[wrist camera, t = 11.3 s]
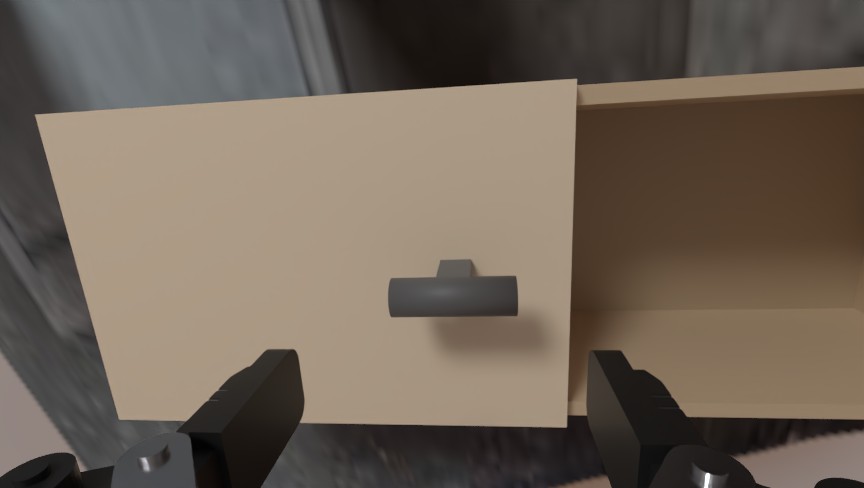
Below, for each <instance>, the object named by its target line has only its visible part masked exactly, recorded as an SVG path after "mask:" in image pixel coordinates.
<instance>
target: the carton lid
mask: <svg viewBox="0 0 864 488" xmlns="http://www.w3.org/2000/svg"><path fill="white" fill-rule="evenodd" d="M576 98H577V79H566V80H551V81H536V82H520V83H505V84H490V85H475V86H460V87H445V88H430V89H414V90H399V91H384V92H369V93H354V94H339V95H324V96H309V97H293V98H278V99H263V100H248V101H233V102H218V103H203V104H187V105H172V106H157V107H142V108H127V109H112V110H97V111H82V112H66V113H51V114H36V115H35V117H36V120H37V124H38V128H39V131H40V135H41V139H42V142H43V146H44V149H45V153H46V157H47V160H48V164H49V168H50V171H51V175H52V178H53V182H54V186H55V189H56V193H57V197H58V200H59V204H60V207H61V211H62V215H63V218H64V222H65V226H66V229H67V233H68V236H69V240H70V244H71V247H72V251H73V254H74V258H75V262H76V265H77V269H78V273H79V276H80V280H81V283H82V287H83V291H84V294H85V298H86V302H87V305H88V309H89V312H90V316H91V320H92V323H93V327H94V331H95V334H96V338H97V341H98V345H99V349H100V352H101V356H102V360H103V363H104V367H105V370H106V374H107V378H108V381H109V385H110V388H111V392H112V396H113V399H114V403H115V407H116V410H117V414H118V417H119V420H166V421H187V420H188V419H189V418H190V417H191V416H192V415H193V414H194V413H195V412H196V411H197V410H198V409H199V408H200V407H201V406H202V405H203V404H204V403H205V402H206V401H209V398H210V397H211V396H212V395H213V394H214V393H215V392H216V391H218V390H219V388H220V387H221V386H222V385H223V384H224V383H225V382H226V381H227V380H228V379H229V378H230V377H231V376H233V375H234V374H236V373H238V372H239V371H241V370H243V369H244V368H246V367H250V366H251V365H252V364H253V363H254V362H255V361H256V360H257V359H258V358H259V357H260V356H261V355H262V354H263V353H264V351H266V350H267V349H294V350H296V352H297V354H298V358H299V364H300V371H301V378H302V384H303V391H304V398H305V405H304V412H303V416H302V419H301V421H300V423H338V424H395V425H453V426H510V427H567V404H568V370H569V336H570V302H571V268H572V234H573V200H574V166H575V132H576Z"/></svg>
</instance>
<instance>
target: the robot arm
mask: <svg viewBox="0 0 864 488" xmlns="http://www.w3.org/2000/svg"><path fill="white" fill-rule="evenodd" d="M304 405H305V398H304V391H303V384H302V378H301V371H300V364H299V358H298V354H297V352H296V350H294V349H267V350H266V351H264V353H263V354H262V355H261V356H260V357H259V358H258V359H257V360H256V361H255V362H254V363H253V364H252V365H251V366H250V367H246V368H244V369H243V370H241V371H239V372H238V373H236V374H234V375H233V376H231V377H230V378H229V379H228V380H227V381H226V382H225V383H224V384H223V385H222V386H221V387H220V388H219V390H218V391H216V392H215V393H214V394H213V395H212V396H211V397H210V398H209V401H206V402H205V403H204V404H203V405H202V406H201V407H200V408H199V409H198V410H197V411H196V412H195V413H194V414H193V415H192V416H191V417H190V418H189V419H188V420H187V421H186V422H185V423H184V424H183V425H182V426H181V427H180V428H179V429H178V430H177V431H176V432H170V433H164V434H159V435H156V436H153V437H150V438H148V439H145V440H143V441H141V442H139V443H138V444H136V445H134V446H133V447H131V448H130V449H128V450H127V451H126V452H125V453H124V454H123V455H122V456H121V457H120V458H119V459H118V460H117V462H116V464H115V465H114V466H109V467H104V468H99V469H94V470H89V471H84V472H80V470H79V467H78V464H77V460H76V458H75V456H74V455H72V454H70V453H54V454H49V455H45V456H41V457H38V458H35V459H33V460H30V461H28V462H26V463H24V464H22V465H19V466H18V467H16V468H14V469H12V470H11V471H9V472H7V473H6V474H4V475H3V476H2V477H0V488H261V486H262V484H263V483H264V481H265V479H266V478H267V476H268V474H269V473H270V471H271V469H272V468H273V466H274V464H275V463H276V461H277V459H278V458H279V456H280V454H281V453H282V451H283V449H284V448H285V446H286V444H287V443H288V441H289V439H290V438H291V436H292V434H293V433H294V431H295V429H296V428H297V426H298V424H299V423H300V421H301V419H302V416H303V412H304ZM586 408H587V418H588V423H589V427H590V430H591V433H592V435H593V438H594V441H595V443H596V446H597V449H598V451H599V454H600V457H601V460H602V462H603V465H604V468H605V470H606V473H607V476H608V478H609V481H610V484H611V487H612V488H769V487H766V486H762V485H759V484H757V483H756V482H755V480H754V478H753V476H752V475H751V473H750V472H749V471H748V470H747V469H746V468H745V467H744V466H743V465H742V464H741V463H740V462H738V461H737V460H735V459H734V458H732V457H731V456H729V455H727V454H725V453H723V452H721V451H718V450H716V449H713V448H710V447H708V445H707V444H706V443H705V441H704V440H703V438H702V437H701V436H700V434H699V433H698V431H697V430H696V429H695V427H694V426H693V424H692V423H691V422H690V420H689V419H688V417H687V416H686V415H685V413H684V412H683V411H682V409H680V406H679V405H678V404H677V402H676V401H675V399H674V398H672V397H671V394H670V392H669V391H668V390H667V388H666V387H665V385H664V384H663V383H662V381H660V380H659V379H657V378H656V377H655V376H653V375H652V374H650V373H649V372H647V371H646V370H633V368H632V367H631V365H630V363H629V362H628V360H627V359H626V357H625V356H624V354H623V352H622V351H621V350H590V352H589V356H588V373H587V397H586ZM814 488H864V483H862V482H859V481H855V480H850V479H844V478H827V479H823V480H821V481H819V482H818V483H817V484H816V485H815V487H814Z"/></svg>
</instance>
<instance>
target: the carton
mask: <svg viewBox="0 0 864 488" xmlns="http://www.w3.org/2000/svg"><path fill="white" fill-rule="evenodd" d="M590 350H621V351H622V352H623V354H624V356H625V357H626V359H627V360H628V362H629V363H630V365H631V367H632V368H633V370H646V371H647V372H649V373H650V374H652V375H653V376H655V377H656V378H657V379H659V380H660V381H662V383H663V384H664V385H665V387H666V388H667V390H668V391H669V392H670V394H671V397H672V398H674V399H675V401H676V402H677V404H678V405H679V406H680V409H682V411H683V412H684V413H685V415H686V416H687V417H730V418H799V419H864V67H853V68H838V69H822V70H807V71H791V72H776V73H760V74H745V75H729V76H714V77H698V78H683V79H667V80H652V81H636V82H621V83H605V84H590V85H577V98H576V132H575V166H574V200H573V234H572V268H571V302H570V336H569V370H568V404H567V415H587V408H586V397H587V373H588V356H589V352H590Z"/></svg>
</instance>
